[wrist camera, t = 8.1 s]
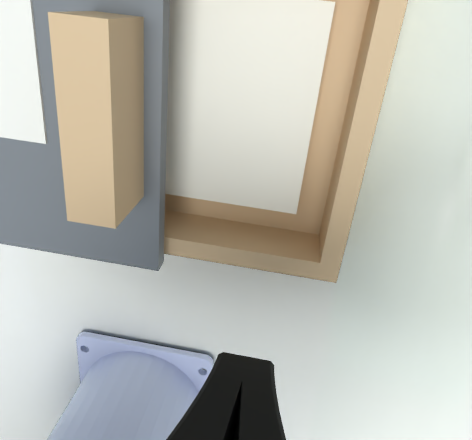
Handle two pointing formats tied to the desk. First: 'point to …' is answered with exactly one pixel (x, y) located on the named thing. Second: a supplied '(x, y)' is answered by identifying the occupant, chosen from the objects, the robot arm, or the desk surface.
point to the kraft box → (272, 127)
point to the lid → (84, 128)
